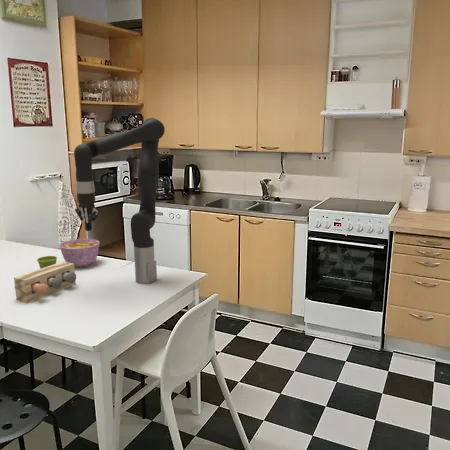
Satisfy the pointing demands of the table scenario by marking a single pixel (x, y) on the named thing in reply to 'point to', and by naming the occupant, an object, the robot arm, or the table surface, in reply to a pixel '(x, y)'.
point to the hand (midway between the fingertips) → (88, 230)
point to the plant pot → (46, 261)
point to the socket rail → (41, 281)
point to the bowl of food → (80, 251)
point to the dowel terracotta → (40, 288)
